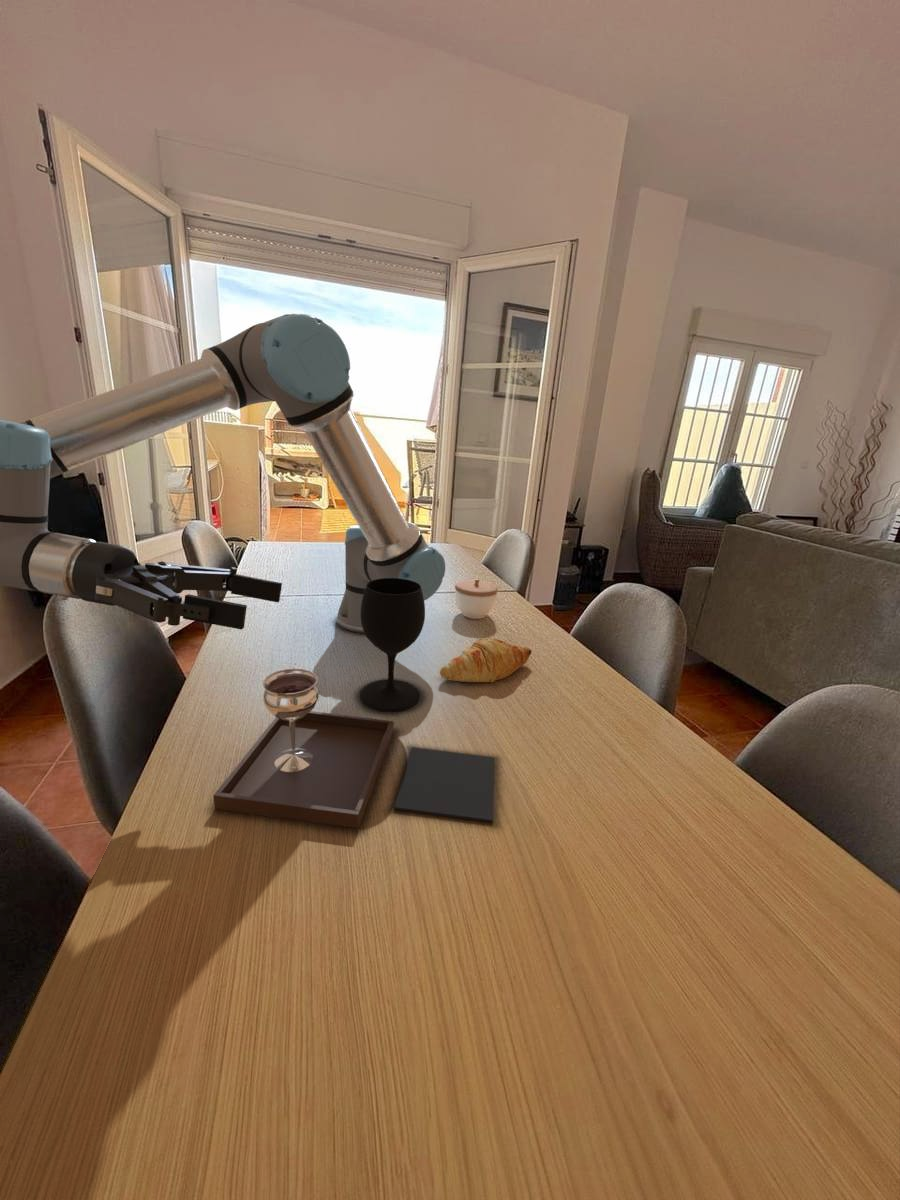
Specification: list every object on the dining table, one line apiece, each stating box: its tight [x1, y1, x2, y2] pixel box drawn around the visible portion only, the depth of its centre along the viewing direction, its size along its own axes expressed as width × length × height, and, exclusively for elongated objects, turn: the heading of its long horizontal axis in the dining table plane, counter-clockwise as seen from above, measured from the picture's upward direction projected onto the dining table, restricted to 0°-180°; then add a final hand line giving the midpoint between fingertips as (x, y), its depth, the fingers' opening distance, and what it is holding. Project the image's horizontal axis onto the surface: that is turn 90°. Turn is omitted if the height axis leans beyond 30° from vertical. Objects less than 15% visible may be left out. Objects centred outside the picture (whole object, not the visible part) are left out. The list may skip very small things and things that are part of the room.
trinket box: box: [454, 578, 499, 619], centre depth 122 cm, size 11×11×9 cm
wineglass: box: [262, 668, 320, 772], centre depth 63 cm, size 7×7×12 cm
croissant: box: [439, 637, 532, 683], centre depth 93 cm, size 21×10×8 cm, turn 123°
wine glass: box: [359, 578, 426, 713], centre depth 80 cm, size 10×10×20 cm
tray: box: [213, 710, 395, 829], centre depth 65 cm, size 19×17×2 cm
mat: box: [393, 746, 495, 824], centre depth 64 cm, size 12×12×1 cm
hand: (264, 603), depth 61 cm, fingers open, 13 cm apart
